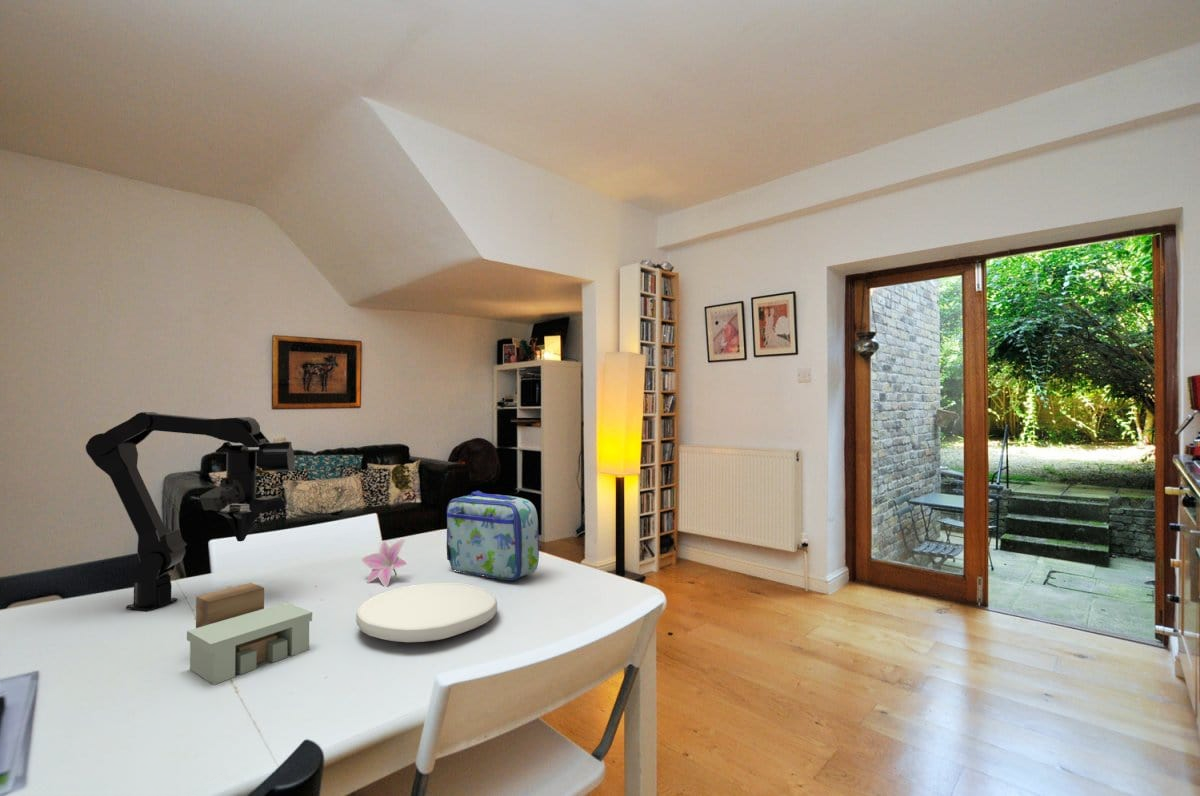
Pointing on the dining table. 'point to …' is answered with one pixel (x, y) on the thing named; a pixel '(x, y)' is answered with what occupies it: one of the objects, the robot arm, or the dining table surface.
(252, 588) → the rectangular block
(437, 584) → the cream round disc
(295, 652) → the green miniature desk
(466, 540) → the lunch box
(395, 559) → the lily
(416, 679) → the dining table surface
